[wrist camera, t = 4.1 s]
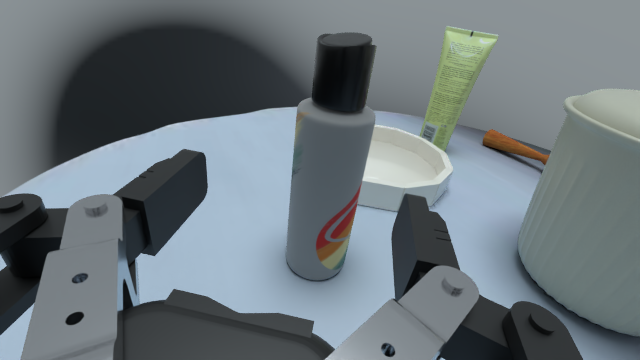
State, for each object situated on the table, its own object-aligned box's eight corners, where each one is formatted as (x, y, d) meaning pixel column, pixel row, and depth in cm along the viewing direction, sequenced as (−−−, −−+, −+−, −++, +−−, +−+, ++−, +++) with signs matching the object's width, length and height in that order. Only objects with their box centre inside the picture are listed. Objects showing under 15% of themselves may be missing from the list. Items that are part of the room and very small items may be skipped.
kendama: (503, 124, 60) (630, 166, 45) (490, 152, 63) (606, 201, 47) (486, 121, 57) (617, 164, 42) (473, 151, 59) (592, 202, 44)
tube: (437, 141, 59) (476, 29, 48) (453, 154, 55) (500, 34, 44) (411, 142, 57) (446, 25, 47) (426, 155, 53) (467, 30, 43)
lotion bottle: (355, 266, 30) (412, 42, 19) (307, 292, 26) (343, 41, 16) (320, 231, 33) (351, 27, 23) (274, 250, 30) (285, 24, 20)
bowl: (432, 153, 54) (438, 135, 52) (455, 222, 37) (466, 199, 36) (323, 134, 55) (325, 116, 53) (300, 193, 39) (302, 169, 37)
